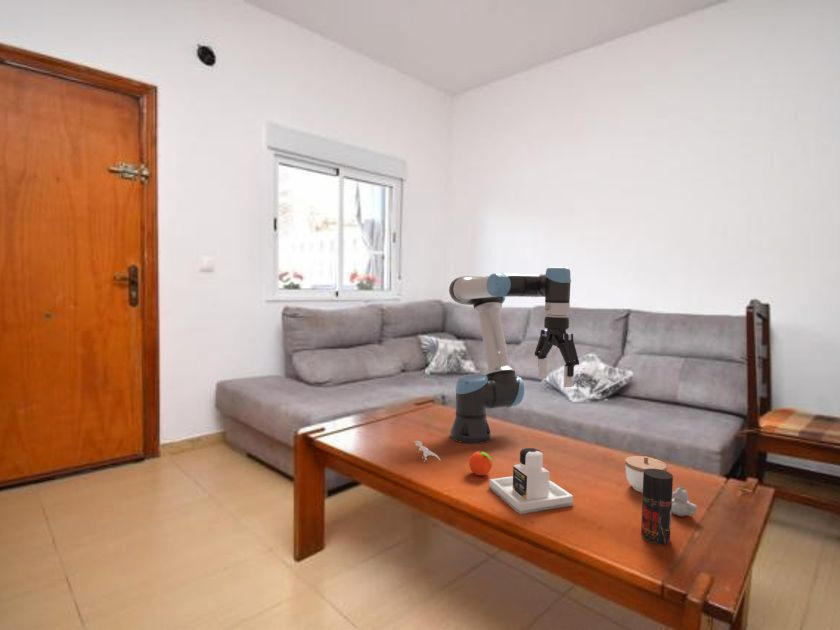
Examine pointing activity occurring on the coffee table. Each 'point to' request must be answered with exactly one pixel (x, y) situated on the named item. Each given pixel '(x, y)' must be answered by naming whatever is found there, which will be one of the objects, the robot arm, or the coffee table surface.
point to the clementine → (480, 463)
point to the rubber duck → (682, 503)
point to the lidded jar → (640, 469)
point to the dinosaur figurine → (425, 450)
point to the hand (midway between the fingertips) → (554, 382)
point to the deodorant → (656, 506)
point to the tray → (522, 506)
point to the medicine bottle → (531, 475)
